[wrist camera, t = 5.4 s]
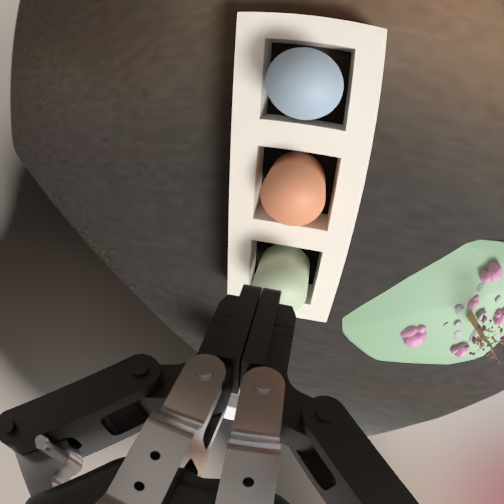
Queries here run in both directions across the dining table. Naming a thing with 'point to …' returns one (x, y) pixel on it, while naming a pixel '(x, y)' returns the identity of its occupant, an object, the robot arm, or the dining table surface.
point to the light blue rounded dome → (304, 83)
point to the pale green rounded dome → (284, 274)
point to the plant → (437, 311)
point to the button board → (299, 146)
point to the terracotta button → (294, 189)
